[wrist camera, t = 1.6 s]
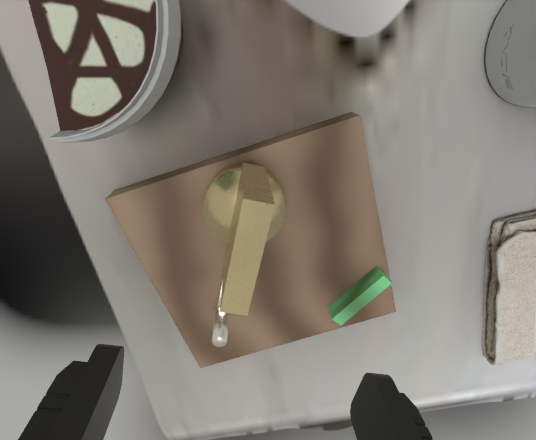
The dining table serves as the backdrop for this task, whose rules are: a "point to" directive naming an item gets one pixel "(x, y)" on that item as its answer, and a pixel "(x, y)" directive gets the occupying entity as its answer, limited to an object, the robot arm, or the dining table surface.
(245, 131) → the dining table surface
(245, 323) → the dial board
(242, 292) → the tan bar with dome
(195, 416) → the dining table surface
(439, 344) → the dining table surface
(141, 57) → the food container
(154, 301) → the dining table surface
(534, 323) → the washcloth
